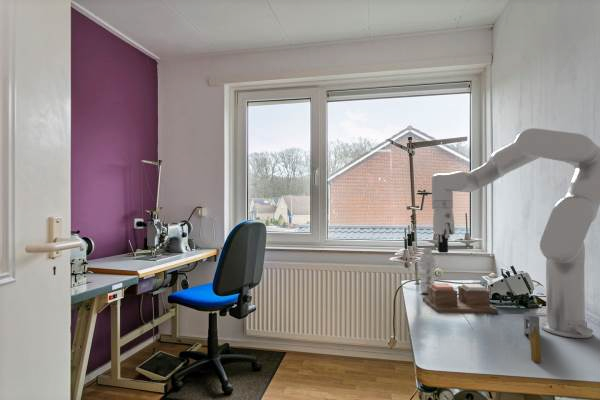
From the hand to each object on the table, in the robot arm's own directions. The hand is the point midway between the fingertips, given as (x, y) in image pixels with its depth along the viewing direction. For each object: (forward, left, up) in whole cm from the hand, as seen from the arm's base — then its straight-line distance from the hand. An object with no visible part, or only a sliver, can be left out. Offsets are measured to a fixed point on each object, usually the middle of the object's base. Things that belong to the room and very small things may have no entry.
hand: (443, 252), depth 134 cm
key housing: (0, -6, -21) cm, 22 cm away
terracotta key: (0, 0, -18) cm, 18 cm away
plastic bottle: (+20, -1, -21) cm, 29 cm away
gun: (-37, -11, -22) cm, 44 cm away
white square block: (0, -12, -18) cm, 21 cm away
